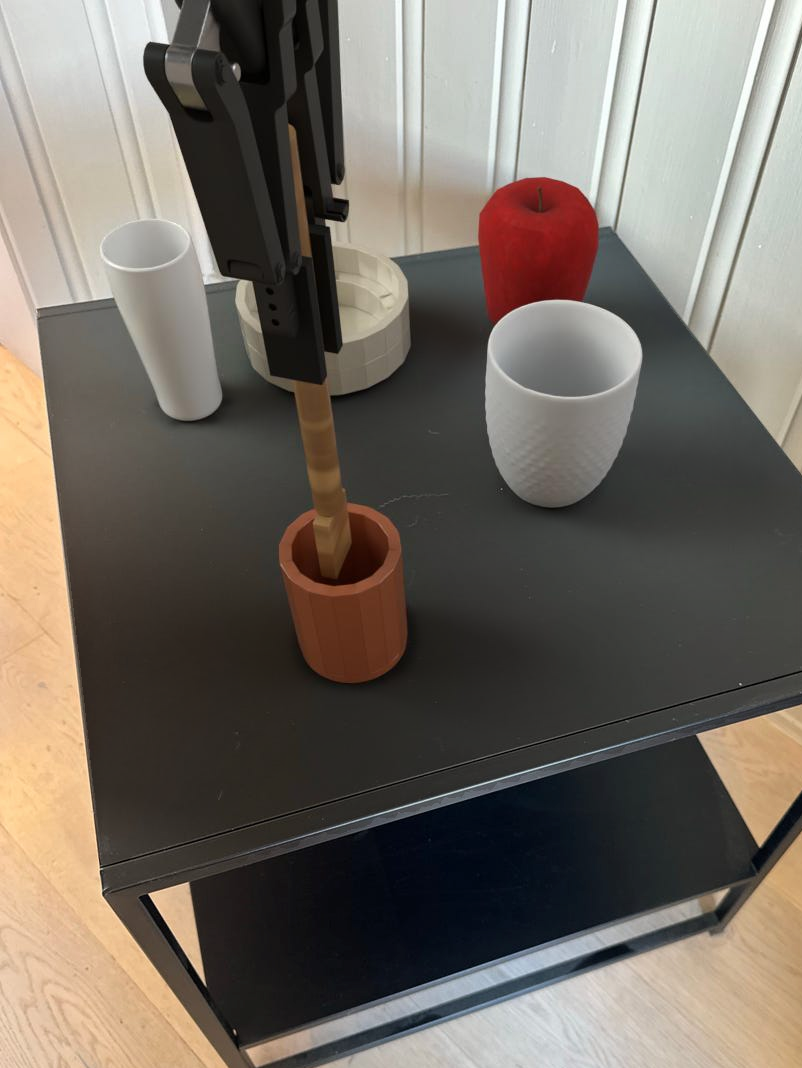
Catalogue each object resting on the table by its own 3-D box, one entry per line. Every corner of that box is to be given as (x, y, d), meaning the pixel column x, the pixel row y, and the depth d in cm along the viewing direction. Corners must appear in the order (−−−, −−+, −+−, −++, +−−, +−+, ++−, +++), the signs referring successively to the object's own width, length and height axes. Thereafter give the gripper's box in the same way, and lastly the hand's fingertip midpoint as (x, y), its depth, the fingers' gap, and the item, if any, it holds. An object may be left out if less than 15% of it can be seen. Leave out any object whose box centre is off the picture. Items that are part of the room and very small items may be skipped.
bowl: (223, 386, 83) (208, 328, 78) (282, 288, 91) (272, 230, 86) (383, 416, 81) (379, 358, 76) (429, 313, 89) (427, 255, 84)
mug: (457, 412, 81) (458, 277, 71) (579, 393, 83) (598, 259, 72) (501, 540, 73) (510, 410, 62) (636, 517, 75) (666, 386, 64)
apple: (570, 373, 85) (587, 232, 73) (461, 348, 86) (462, 207, 75) (598, 304, 90) (618, 164, 79) (496, 282, 92) (501, 142, 81)
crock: (285, 670, 66) (260, 581, 58) (321, 587, 70) (303, 493, 62) (389, 693, 65) (380, 606, 57) (419, 607, 69) (414, 515, 61)
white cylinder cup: (218, 435, 79) (174, 275, 67) (140, 424, 80) (82, 265, 67) (242, 382, 83) (205, 222, 71) (168, 372, 83) (118, 212, 71)
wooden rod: (342, 581, 59) (280, 155, 37) (315, 575, 60) (237, 148, 37) (358, 543, 61) (307, 116, 39) (331, 538, 61) (266, 109, 39)
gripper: (234, -194, 24) (330, 477, 43) (401, -327, 32) (419, 286, 51) (-39, -226, 24) (176, 446, 44) (193, -347, 33) (287, 263, 52)
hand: (307, 359), depth 47 cm, fingers closed on wooden rod, 2 cm apart
